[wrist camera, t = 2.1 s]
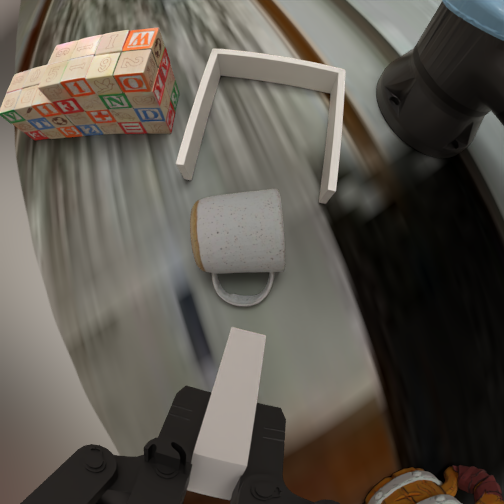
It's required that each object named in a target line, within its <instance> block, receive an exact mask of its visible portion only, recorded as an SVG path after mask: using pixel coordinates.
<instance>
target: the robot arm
mask: <svg viewBox="0 0 504 504" xmlns="http://www.w3.org/2000/svg"><path fill="white" fill-rule="evenodd" d="M377 100H378V104H379V107H380V110H381V112H382V114H383V116H384V118H385V119H386V121H387V123H388V124H389V125H390V127H391V128H392V129H393V130H394V132H395V133H396V134H397V135H398V136H399V137H400V138H401V139H402V140H403V141H405V142H406V143H407V144H408V145H410V146H411V147H413V148H414V149H416V150H417V151H419V152H421V153H423V154H426V155H428V156H432V157H436V158H450V157H453V156H455V155H457V154H459V153H460V152H462V151H463V150H464V149H466V148H467V147H468V146H469V145H470V144H471V142H472V141H473V139H474V137H475V135H476V133H477V131H478V129H479V127H480V125H481V123H482V120H483V118H484V116H485V115H486V114H487V113H488V112H490V111H492V112H493V113H494V114H495V115H496V117H497V118H498V119H499V120H500V122H501V123H502V124H503V126H504V0H442V3H441V4H440V6H439V8H438V9H437V11H436V13H435V14H434V16H433V18H432V19H431V21H430V23H429V24H428V26H427V28H426V29H425V31H424V33H423V34H422V36H421V38H420V39H419V41H418V43H417V44H416V46H415V47H414V49H412V50H410V51H409V52H407V53H406V54H404V55H402V56H401V57H399V58H398V59H396V60H395V61H393V62H392V63H390V64H389V65H388V66H387V67H386V68H385V70H384V72H383V73H382V75H381V77H380V79H379V81H378V84H377ZM265 340H266V335H262V334H258V333H254V332H250V331H246V330H242V329H238V328H234V327H232V328H231V331H230V334H229V338H228V341H227V344H226V347H225V351H224V354H223V357H222V361H221V364H220V367H219V370H218V374H217V377H216V380H215V383H214V387H213V390H212V393H211V392H207V391H203V390H200V389H196V388H193V387H189V386H185V387H184V388H183V389H181V390H180V391H179V392H178V393H177V394H176V396H175V399H174V401H173V403H172V406H171V408H170V410H169V413H168V415H167V418H166V420H165V422H164V425H163V427H162V430H161V432H160V434H159V437H158V438H154V439H153V440H151V441H149V442H148V443H147V444H146V445H145V447H144V455H142V456H138V457H127V456H117V455H113V454H112V453H111V452H110V451H109V450H108V449H106V448H104V447H102V446H100V445H92V444H91V445H86V446H83V447H82V448H80V449H78V450H77V451H76V452H75V453H74V454H73V455H72V456H71V457H70V458H69V459H68V460H67V461H66V462H64V463H63V464H62V465H61V466H60V467H59V468H58V469H57V470H56V471H55V472H54V473H53V474H52V475H51V476H50V477H48V478H47V479H46V480H45V481H44V482H43V483H42V484H41V485H40V486H39V487H38V488H37V489H36V490H35V491H34V492H33V493H31V494H30V495H29V496H28V497H27V498H26V499H25V500H24V501H23V502H22V503H20V504H183V502H184V497H185V494H186V491H187V490H189V491H192V492H196V493H200V494H204V495H208V496H212V497H217V498H221V499H226V500H230V499H231V502H230V504H339V503H338V502H335V501H333V500H320V501H317V502H315V503H314V502H311V501H309V500H306V499H304V498H301V497H299V496H297V495H295V494H293V493H292V492H291V491H290V490H288V488H287V487H286V485H285V484H284V481H283V476H282V472H283V457H284V440H285V423H286V419H285V417H284V414H283V412H282V410H281V408H278V407H273V406H268V405H263V404H259V403H257V397H258V391H259V384H260V376H261V369H262V362H263V355H264V347H265Z"/></svg>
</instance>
